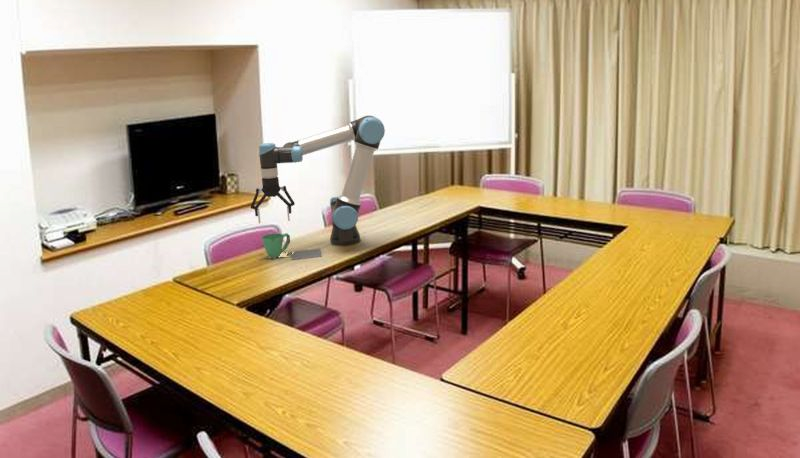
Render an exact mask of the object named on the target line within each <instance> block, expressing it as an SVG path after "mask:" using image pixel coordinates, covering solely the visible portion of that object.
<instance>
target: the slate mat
mask: <svg viewBox="0 0 800 458" xmlns="http://www.w3.org/2000/svg"><path fill="white" fill-rule="evenodd" d="M295 251H296V252H294V253H293V254H290V255H291V261H293V260H304V259H305V260H306V259H314V258H322V257H323V255H322V251H321V248H311V249H301V250H295Z"/></svg>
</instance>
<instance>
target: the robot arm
mask: <svg viewBox="0 0 800 458" xmlns="http://www.w3.org/2000/svg"><path fill="white" fill-rule="evenodd" d="M385 130H386V129H385V126H384V123H383V121H382V120H380V119H379V118H377V117H376V116H374V115H364V116H362V117H360V118H358V119H355V120H353V121H352V120H351V121H349V122H348V124H347V125H344V126H339V127H337V128H334V129H331V130H327V131H324V132H320V133H317V134H314V135H311V136H308V137H305V138H302V139H297V140H295V141H292V142H291V141H289V142H286V143H285V144H284V145H282V146H276V143H273V142H266V143H260V145H259V146H258V151H259V155H258V156H259V165H260V173H261V177H262V178H261V184H262V187H260V188H259V187H256V189H255V194H254V197H253V199H252V202H251V204H250V209H251V210H252V209H253V210H254V213H255V214H254V215H255V217H257V218H258V220H257V221H258V222H257V223H258V224H261V214H260V213H261V212H260V208H259V207H260V206H261V205H262V203H263V202H264V200H266V198H271V197H272V198H275V197H278V198H279V199H280V200H281V201H282V202H283V203H284V204H285V205H286V212H287V213H286V214H287V221H288V222H290V221H291V219H290V218H291V217H290V214H292V207H293V206H295V204H296V203H295V201H294V200H293V198H292V196H291V195H290V193H289V191H288V190H287V187H286V185H283V186H280V181H279V170H278V164H291V163H295V164H296V163H302V162H303V158H304V157H303V156H306V155H308V154H312V153H314V152H318V151H322V150H324V149H327V148H328V149H329V148H330V147H331V148H332V147H334V146H337V145H342V144H344V143H347V142H351V141H354V144H355V145H356V146H355V149H354V152H353V156H352V159H351V162H350V166H349V169H348V172H347V173H348V174H347V175H346V176H347V177H346V179H345V182H344V185H343V190H342V193H341V194H339V195H338V196H334V197H331V198H330V201H329V204H330V211H331V223H332V229H331V233H330V237H329V243H330V244H331V245H334V246H350V245H355V244H357V243H360V241H361V234H360V232H359V230H358V228H357V223H358V221H359V212H360V209H361V206H362V202H361V201H360V198H361V194H362V191H363V188H364V186H365V182H366V179H367V176H368V172H369V169H370V165H371V162H372V159H373V156H374V152H375V151H377V150H379V147H380V145H381V141H382V140H383V138H384V137H385ZM280 191H282V192H284V194H285V196H286V197H287V198H288V200H289V201H288V200H287V199H286V198H285V197H284V196H283V195H282V194H281V193H280ZM261 192H262V193H264V194H263V195H262V196H261V197H260V199H259V200H258V199H257V198H258V197H259V194H261ZM257 200H258V202H257ZM256 202H257V204H256Z"/></svg>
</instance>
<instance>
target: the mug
mask: <svg viewBox="0 0 800 458" xmlns="http://www.w3.org/2000/svg"><path fill="white" fill-rule="evenodd" d="M285 237H286V240H285V243H284V245H283V241H284V240H283V239H284V238H285ZM261 240H262V241H261V242H262V243H263V246H264V249H265V252H266V254H267V256H268V258H269V257H270V258H274V259H277V258H276V257H279V256H280V254H281V253H282V252H286V250H287V248H288V246H289V245H290V242H291V236H290V235H289V234H288V233H287V232H285V233H267V234H265V235H262V236H261Z"/></svg>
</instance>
